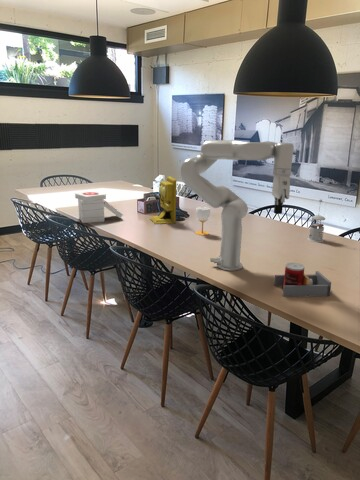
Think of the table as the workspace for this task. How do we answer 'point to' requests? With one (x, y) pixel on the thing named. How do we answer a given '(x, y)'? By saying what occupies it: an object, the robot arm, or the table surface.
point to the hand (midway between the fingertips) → (277, 213)
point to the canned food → (293, 274)
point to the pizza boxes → (93, 207)
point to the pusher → (307, 280)
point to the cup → (202, 218)
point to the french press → (316, 233)
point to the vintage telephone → (167, 202)
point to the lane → (306, 286)
